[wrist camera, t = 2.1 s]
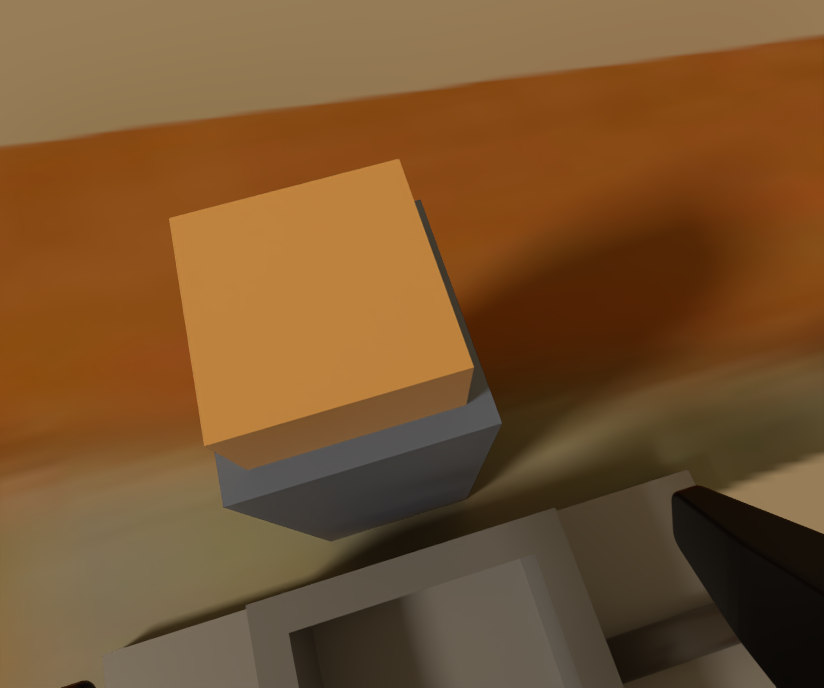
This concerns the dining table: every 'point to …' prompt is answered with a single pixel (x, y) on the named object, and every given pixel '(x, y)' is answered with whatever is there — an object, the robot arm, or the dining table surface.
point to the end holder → (480, 615)
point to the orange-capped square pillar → (331, 355)
